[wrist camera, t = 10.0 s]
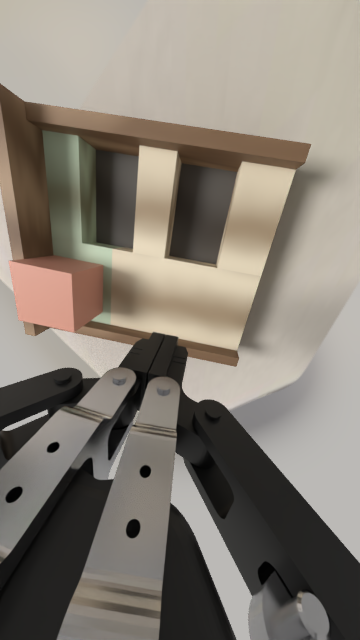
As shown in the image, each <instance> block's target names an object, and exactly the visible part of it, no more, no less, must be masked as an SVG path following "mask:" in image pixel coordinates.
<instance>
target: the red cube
mask: <svg viewBox="0 0 360 640" xmlns="http://www.w3.org/2000/svg"><path fill="white" fill-rule="evenodd" d="M9 265H10V271H11V277H12V283H13V289H14V295H15V301H16V307H17V313H18V319H19V320H20V321H25V322H29V323H34V324H38V325H43V326H47V327H52V328H56V329H61V330H65V331H70V332H76V331H77V330H78V329H80V328H81V327H82V326H84V325H85V324H87V323H88V322H89V321H91V320H92V319H94V318H95V317H96V316H98V315H99V314H101V313H102V312H103V265H100V264H96V263H91V262H86V261H81V260H76V259H71V258H66V257H61V256H56V255H53V256H45V257H37V258H28V259H20V260H12V261H9Z"/></svg>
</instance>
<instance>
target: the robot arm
mask: <svg viewBox="0 0 360 640" xmlns="http://www.w3.org/2000/svg"><path fill="white" fill-rule="evenodd" d="M178 338H179V337H177V336H172V335H167V334H162V333H157V332H153V333H152V334H151V336H150V338H149V339H144V338H142V339H140V340H139V341H137V342H136V343H135V344H134V345H133V347H132V348H131V350H130V351H129V353H128V354H127V355H126V357H125V358H124V360H123V361H122V363H121V364H120V365H119V367H118V368H113V369H111V370H109V371H107V372H106V373H105V374H104V375H103V376H102V377H101V378H88V379H87V378H86V379H83V378H82V373H81V372H80V371H79V370H77V369H74V368H62V369H58V370H55V371H52V372H49V373H45V374H43V375H39V376H36V377H33V378H30V379H27V380H24V381H20V382H17V383H14V384H11V385H8V386H5V387H2V388H0V640H236V637H235V635H234V632H233V630H232V627H231V625H230V622H229V620H228V617H227V615H226V612H225V610H224V607H223V605H222V602H221V600H220V597H219V595H218V592H217V590H216V587H215V585H214V582H213V580H212V577H211V575H210V572H209V570H208V567H207V565H206V562H205V560H204V557H203V555H202V552H201V550H200V547H199V545H198V542H197V540H196V537H195V535H194V533H193V532H192V529H191V528H190V526H189V524H188V522H187V521H186V520H185V518H184V517H183V515H182V514H181V513H180V512H179V510H178V509H177V508H176V507H175V506H174V505H172V504H171V503H170V501H171V491H172V480H173V470H174V460H175V452H176V453H177V454H179V455H180V456H182V457H183V458H184V463H185V465H186V467H187V469H188V471H189V473H190V475H191V477H192V479H193V481H194V483H195V485H196V487H197V489H198V491H199V493H200V495H201V497H202V499H203V501H204V503H205V505H206V506H207V509H208V511H209V512H210V514H211V516H212V518H213V520H214V522H215V524H216V526H217V528H218V530H219V532H220V534H221V536H222V538H223V540H224V542H225V544H226V546H227V548H228V550H229V552H230V553H231V555H232V557H233V559H234V561H235V563H236V565H237V567H238V569H239V571H240V573H241V575H242V577H243V579H244V581H245V583H246V585H247V587H248V589H249V590H250V592H251V595H252V599H251V602H250V607H249V614H248V621H249V622H248V623H249V633H250V639H251V640H360V563H359V562H358V561H357V560H356V559H355V557H354V556H353V555H352V554H351V553H350V551H349V550H348V549H347V548H346V547H345V546H344V544H343V543H342V542H341V541H340V540H339V539H338V537H337V536H336V535H335V534H334V533H333V532H332V530H331V529H330V528H329V527H328V526H327V525H326V524H325V522H324V521H323V520H322V519H321V518H320V517H319V515H318V514H317V513H316V512H315V511H314V510H313V508H312V507H311V506H310V505H309V504H308V503H307V501H306V500H305V499H304V498H303V497H302V496H301V494H300V493H299V492H298V491H297V490H296V489H295V488H294V486H293V485H292V484H291V483H290V482H289V480H288V479H287V478H286V477H285V476H284V475H283V474H282V472H281V471H280V470H279V469H278V468H277V467H276V465H275V464H274V463H273V462H272V461H271V460H270V458H269V457H268V456H267V455H266V454H265V453H264V452H263V450H262V449H261V448H260V447H259V446H258V444H257V443H256V442H255V441H254V440H253V439H252V438H251V436H250V435H249V434H248V433H247V432H246V430H245V429H244V428H243V427H242V426H241V425H240V424H239V422H238V421H237V420H236V419H235V418H234V416H233V415H232V414H231V413H230V412H229V411H228V410H227V408H226V407H225V406H224V405H222V404H221V403H219V402H217V401H214V400H202V401H200V402H199V403H197V402H195V401H193V400H192V399H190V398H189V397H187V396H186V395H185V393H184V392H183V390H182V381H183V377H184V372H185V366H186V361H187V356H188V351H187V349H186V347H183V346H178ZM46 409H47V410H48V414H47V415H45V416H43V417H41V418H38V419H36V420H34V421H32V422H29V423H27V424H25V425H22V426H20V427H18V428H15V429H13V430H10V431H2V429H4V428H5V427H7V426H9V425H11V424H14V423H16V422H18V421H21V420H23V419H25V418H28V417H30V416H32V415H35V414H37V413H40V412H42V411H44V410H46ZM137 410H139V414H138V417H137V420H136V423H135V425H133V419H134V417H135V414H136V412H137ZM129 431H130V432H129ZM128 433H129V435H128ZM127 435H128V438H127V441H126V444H125V447H124V450H123V453H122V456H121V459H120V462H119V465H118V468H117V471H116V474H115V477H114V479H111V480H108V476H109V472H110V469H111V467H112V465H113V463H114V461H115V459H116V457H117V455H118V453H119V451H120V449H121V447H122V445H123V443H124V441H125V439H126V437H127Z"/></svg>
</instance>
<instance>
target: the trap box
mask: <svg viewBox="0 0 360 640" xmlns="http://www.w3.org/2000/svg"><path fill="white" fill-rule="evenodd" d="M310 146H311V144H307V143H300V142H293V141H287V140H280V139H273V138H266V137H260V136H253V135H246V134H239V133H233V132H226V131H219V130H213V129H206V128H199V127H192V126H186V125H179V124H172V123H165V122H159V121H152V120H145V119H138V118H132V117H125V116H118V115H111V114H105V113H98V112H91V111H85V110H78V109H71V108H64V107H57V106H51V105H44V104H37V103H31V102H24V101H23V100H22V99H20V98H19V97H17V96H16V95H15V94H13V93H12V92H11V91H10V90H8V89H7V88H5V87H4V86H3V85H1V84H0V187H1V193H2V199H3V205H4V210H5V216H6V222H7V228H8V234H9V240H10V246H11V251H12V257H13V260H20V259H28V258H37V257H45V256H53V255H56V256H61V257H66V258H71V259H76V260H81V261H86V262H91V263H96V264H100V265H103V312H102V313H101V314H99V315H98V316H96V317H95V318H94V319H92V320H91V321H89V322H88V323H87V324H85V325H84V326H82V327H81V328H80V329H78V330H77V331H76V332H73V333H78V334H83V335H88V336H92V337H97V338H102V339H107V340H111V341H116V342H121V343H126V344H131V345H134V344H135V343H136V342H137V341H139V340H140V339H142V338H144V339H149V338H150V336H151V334H152V333H153V332H157V333H162V334H167V335H172V336H177V337H179V338H178V346H183V347H186V349H187V351H188V357H192V358H197V359H202V360H207V361H211V362H216V363H221V364H226V365H231V366H235V367H236V366H237V363H238V360H239V357H238V353H237V349H238V346H239V343H240V340H241V337H242V334H243V330H244V327H245V324H246V321H247V318H248V315H249V312H250V309H251V306H252V303H253V300H254V297H255V294H256V291H257V287H258V284H259V281H260V278H261V275H262V272H263V269H264V266H265V263H266V260H267V257H268V254H269V251H270V248H271V245H272V241H273V238H274V235H275V232H276V229H277V226H278V223H279V220H280V217H281V214H282V211H283V208H284V205H285V202H286V198H287V195H288V192H289V189H290V186H291V183H292V180H293V177H294V174H295V171H296V169H297V168H299V167H300V166H301V165H303V164H304V163H305V161H306V158H307V155H308V152H309V149H310ZM23 322H24V327H25V333H26V334H27V335H32V336H36V335H38V334H40V333H42V332H43V331H45V330H46V329H49V328H52V327H47V326H43V325H38V324H34V323H29V322H25V321H23ZM54 329H56V328H54ZM59 330H61V329H59ZM64 331H65V330H64ZM69 332H70V331H69Z"/></svg>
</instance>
